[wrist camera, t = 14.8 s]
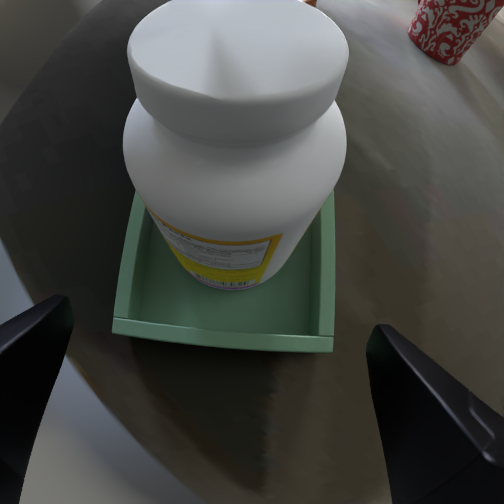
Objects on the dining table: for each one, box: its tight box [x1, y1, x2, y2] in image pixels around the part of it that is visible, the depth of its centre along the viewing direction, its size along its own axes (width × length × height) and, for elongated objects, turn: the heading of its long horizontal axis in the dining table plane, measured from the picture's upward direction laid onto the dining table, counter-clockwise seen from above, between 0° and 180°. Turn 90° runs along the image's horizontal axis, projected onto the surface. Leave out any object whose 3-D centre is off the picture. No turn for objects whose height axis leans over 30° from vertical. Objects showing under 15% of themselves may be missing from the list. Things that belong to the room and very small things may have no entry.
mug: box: [408, 0, 504, 65], centre depth 21 cm, size 13×9×14 cm
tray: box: [112, 188, 335, 353], centre depth 20 cm, size 32×11×3 cm, turn 176°
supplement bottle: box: [123, 0, 349, 290], centre depth 11 cm, size 7×7×13 cm
